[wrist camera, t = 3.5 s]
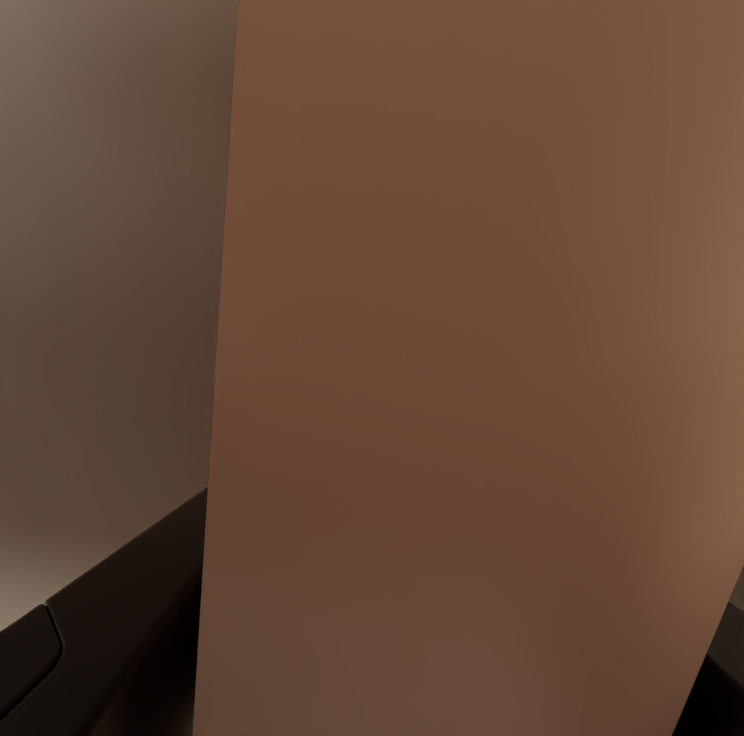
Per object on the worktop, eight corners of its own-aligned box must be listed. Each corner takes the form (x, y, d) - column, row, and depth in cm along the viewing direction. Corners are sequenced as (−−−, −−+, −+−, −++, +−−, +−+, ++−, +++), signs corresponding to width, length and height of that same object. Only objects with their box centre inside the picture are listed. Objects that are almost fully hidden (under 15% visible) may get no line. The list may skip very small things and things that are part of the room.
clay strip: (429, 828, 13) (470, 1212, 9) (231, 813, 13) (163, 1203, 8) (671, -106, 8) (1166, -436, 3) (326, -171, 7) (280, -650, 3)
